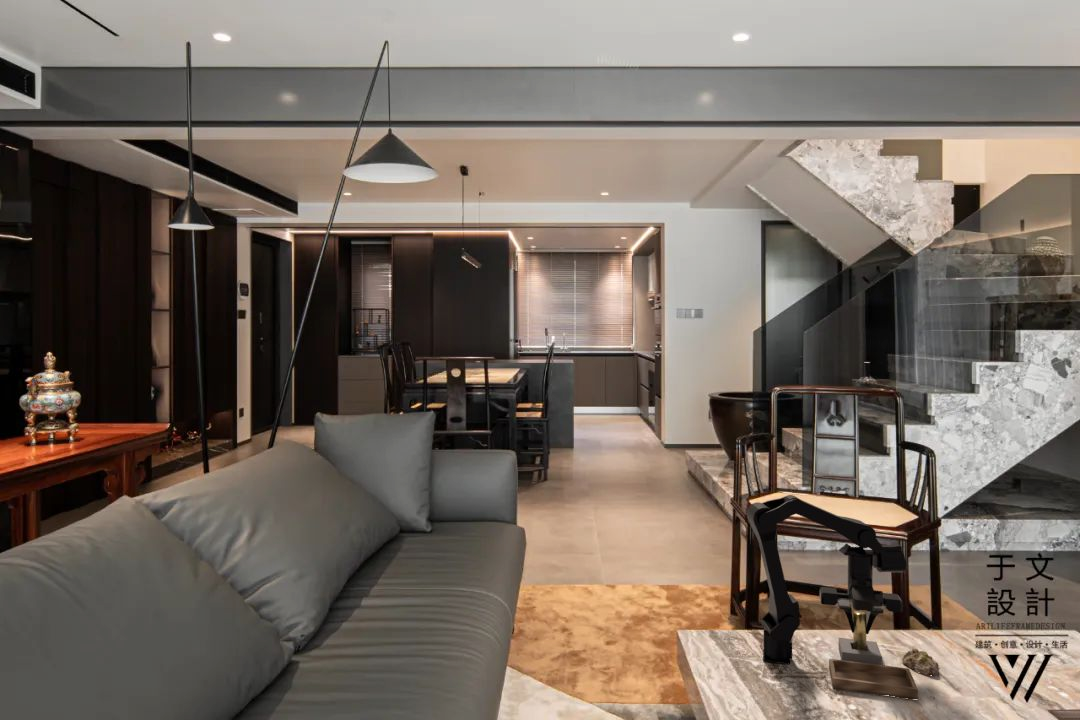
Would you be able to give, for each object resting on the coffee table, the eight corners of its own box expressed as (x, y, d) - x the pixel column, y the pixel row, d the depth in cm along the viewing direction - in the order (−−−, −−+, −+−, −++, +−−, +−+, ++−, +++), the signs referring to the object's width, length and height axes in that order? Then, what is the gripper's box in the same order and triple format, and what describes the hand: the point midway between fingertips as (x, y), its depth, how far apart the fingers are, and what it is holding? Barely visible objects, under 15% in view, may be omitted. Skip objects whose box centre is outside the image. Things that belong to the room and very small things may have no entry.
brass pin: (854, 650, 175) (854, 614, 174) (852, 645, 177) (852, 610, 177) (867, 651, 174) (867, 616, 174) (865, 646, 177) (865, 611, 176)
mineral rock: (893, 648, 177) (925, 641, 176) (897, 664, 177) (929, 657, 176) (912, 669, 166) (946, 661, 165) (917, 686, 166) (951, 679, 165)
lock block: (842, 663, 173) (842, 651, 173) (838, 648, 181) (838, 637, 181) (881, 668, 170) (881, 656, 170) (876, 653, 178) (876, 641, 178)
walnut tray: (832, 688, 160) (832, 678, 160) (829, 668, 170) (829, 658, 170) (918, 700, 155) (918, 689, 155) (908, 678, 165) (908, 668, 165)
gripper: (822, 578, 170) (822, 641, 171) (907, 586, 165) (906, 651, 165) (819, 564, 181) (819, 623, 181) (898, 571, 175) (898, 632, 176)
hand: (859, 632), depth 175 cm, fingers closed on brass pin, 3 cm apart
